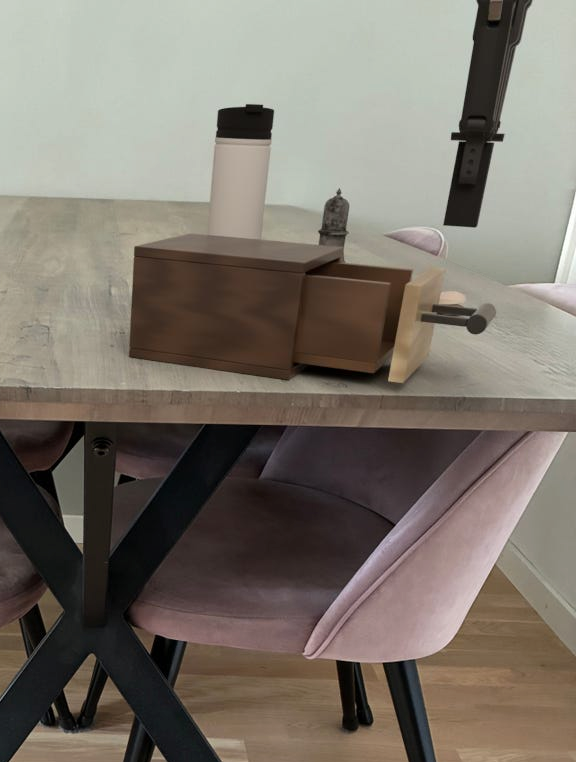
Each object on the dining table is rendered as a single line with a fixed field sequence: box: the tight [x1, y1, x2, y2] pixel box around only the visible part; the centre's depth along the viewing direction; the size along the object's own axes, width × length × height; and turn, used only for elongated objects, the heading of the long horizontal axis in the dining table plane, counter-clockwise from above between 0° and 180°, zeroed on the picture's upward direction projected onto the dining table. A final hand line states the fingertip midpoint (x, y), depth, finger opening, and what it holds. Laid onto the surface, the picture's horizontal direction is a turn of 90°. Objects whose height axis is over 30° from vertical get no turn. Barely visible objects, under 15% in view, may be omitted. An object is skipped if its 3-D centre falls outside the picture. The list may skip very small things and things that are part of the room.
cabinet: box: [128, 232, 345, 381], centre depth 84 cm, size 15×13×9 cm
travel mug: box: [206, 103, 275, 240], centre depth 109 cm, size 6×7×20 cm
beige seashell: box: [439, 290, 468, 316], centre depth 107 cm, size 4×5×2 cm
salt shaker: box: [317, 188, 350, 263], centre depth 112 cm, size 6×6×12 cm
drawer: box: [294, 261, 497, 384], centre depth 79 cm, size 18×11×7 cm, turn 63°
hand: (460, 225), depth 83 cm, fingers closed
